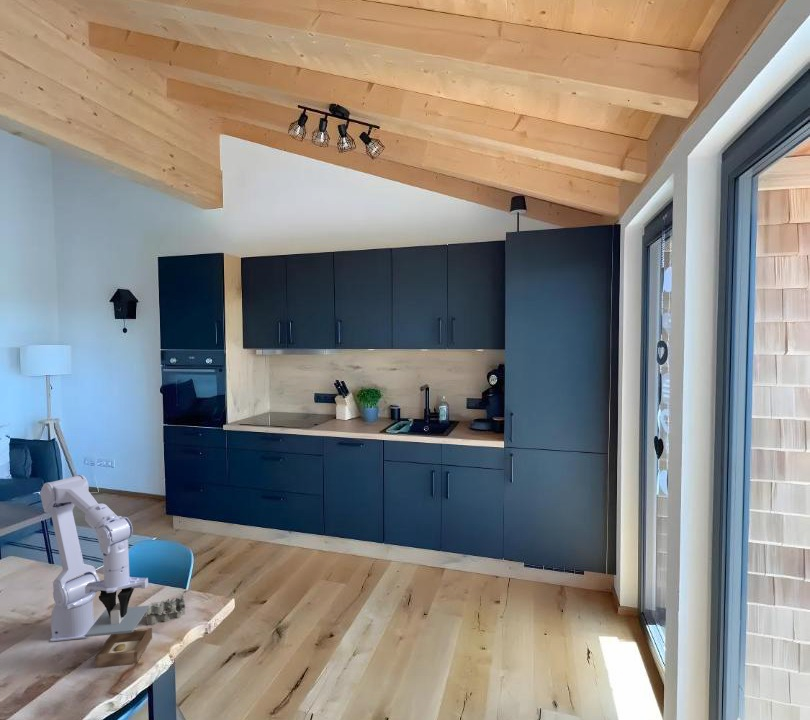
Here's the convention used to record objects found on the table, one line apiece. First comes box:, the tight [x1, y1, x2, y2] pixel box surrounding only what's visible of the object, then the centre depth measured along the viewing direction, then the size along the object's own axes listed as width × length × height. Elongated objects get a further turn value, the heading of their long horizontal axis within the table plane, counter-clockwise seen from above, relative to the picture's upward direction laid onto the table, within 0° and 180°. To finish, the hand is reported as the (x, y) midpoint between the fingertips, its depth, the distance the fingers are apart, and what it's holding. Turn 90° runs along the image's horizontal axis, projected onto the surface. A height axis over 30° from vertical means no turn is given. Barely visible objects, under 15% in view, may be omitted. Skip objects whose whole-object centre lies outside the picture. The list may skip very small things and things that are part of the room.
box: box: [94, 627, 153, 669], centre depth 124 cm, size 10×10×3 cm
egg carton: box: [144, 594, 186, 626], centre depth 140 cm, size 11×8×4 cm
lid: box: [85, 602, 150, 638], centre depth 123 cm, size 11×11×4 cm
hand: (118, 615), depth 123 cm, fingers closed on lid, 2 cm apart
